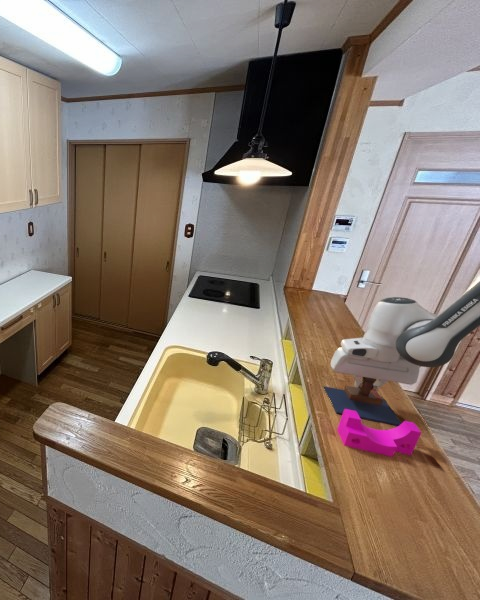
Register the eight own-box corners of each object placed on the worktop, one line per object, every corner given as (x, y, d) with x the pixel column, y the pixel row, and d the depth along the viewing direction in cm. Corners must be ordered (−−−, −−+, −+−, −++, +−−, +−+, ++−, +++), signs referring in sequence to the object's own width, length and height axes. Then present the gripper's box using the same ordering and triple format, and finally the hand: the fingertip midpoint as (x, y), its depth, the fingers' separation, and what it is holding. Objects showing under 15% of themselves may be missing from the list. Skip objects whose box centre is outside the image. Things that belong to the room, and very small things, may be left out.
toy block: (344, 445, 87) (352, 423, 85) (337, 429, 93) (344, 408, 90) (415, 462, 82) (426, 439, 79) (404, 444, 87) (413, 422, 85)
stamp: (349, 399, 101) (358, 375, 97) (343, 390, 105) (351, 366, 102) (381, 405, 98) (391, 380, 95) (374, 396, 102) (383, 371, 99)
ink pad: (381, 398, 106) (381, 396, 106) (402, 426, 94) (403, 425, 93) (323, 387, 111) (323, 386, 111) (336, 413, 99) (337, 411, 99)
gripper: (419, 350, 94) (402, 389, 99) (335, 339, 101) (323, 376, 106) (432, 361, 89) (413, 402, 94) (342, 348, 96) (329, 387, 101)
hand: (365, 388), depth 100 cm, fingers closed on stamp, 2 cm apart
